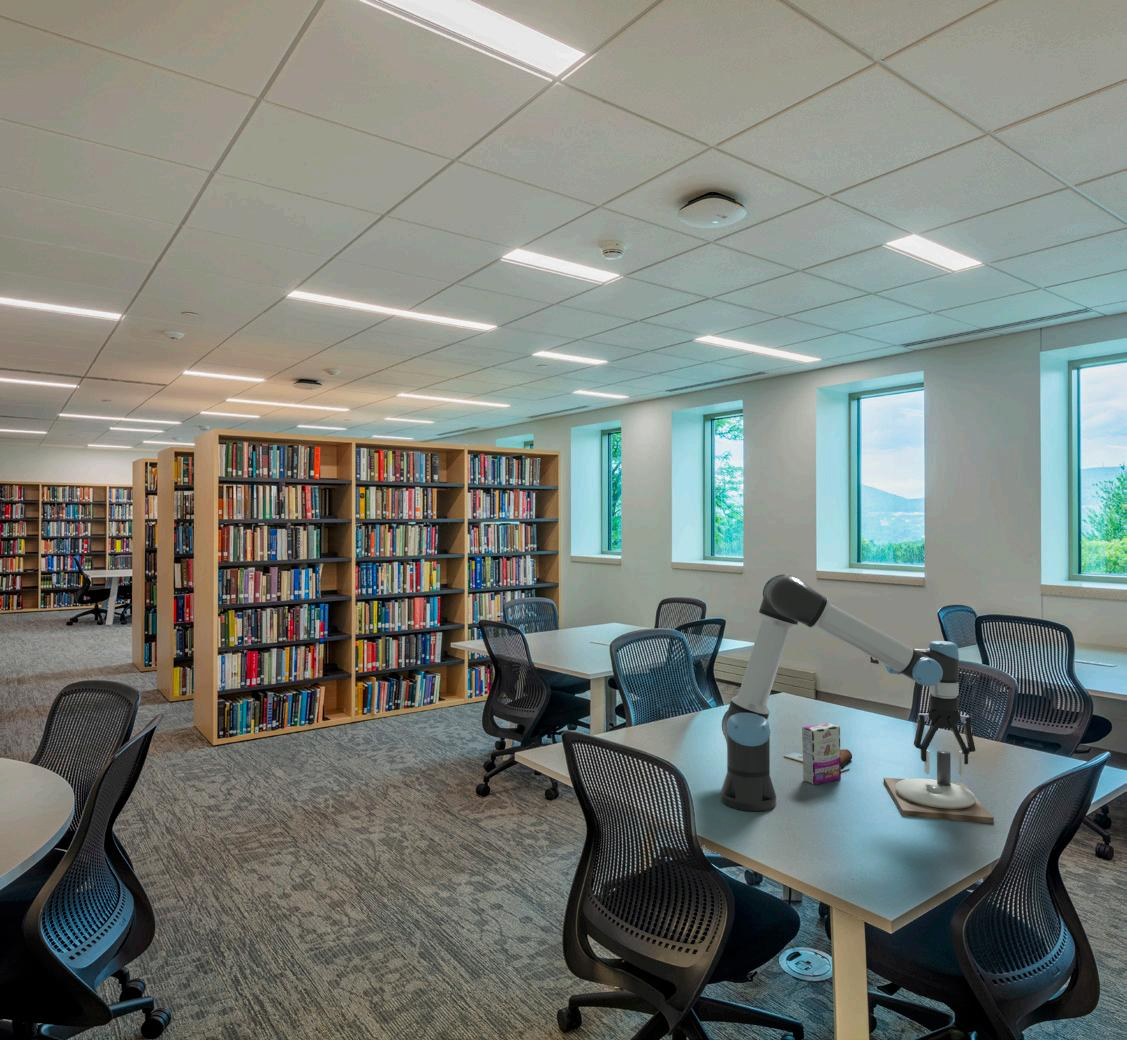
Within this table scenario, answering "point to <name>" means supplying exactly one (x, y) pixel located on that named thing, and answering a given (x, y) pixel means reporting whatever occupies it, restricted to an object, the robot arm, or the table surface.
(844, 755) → the sunglasses case
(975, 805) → the dial base
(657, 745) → the table surface
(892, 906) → the table surface
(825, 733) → the candy bar box
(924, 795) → the dial
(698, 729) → the table surface
